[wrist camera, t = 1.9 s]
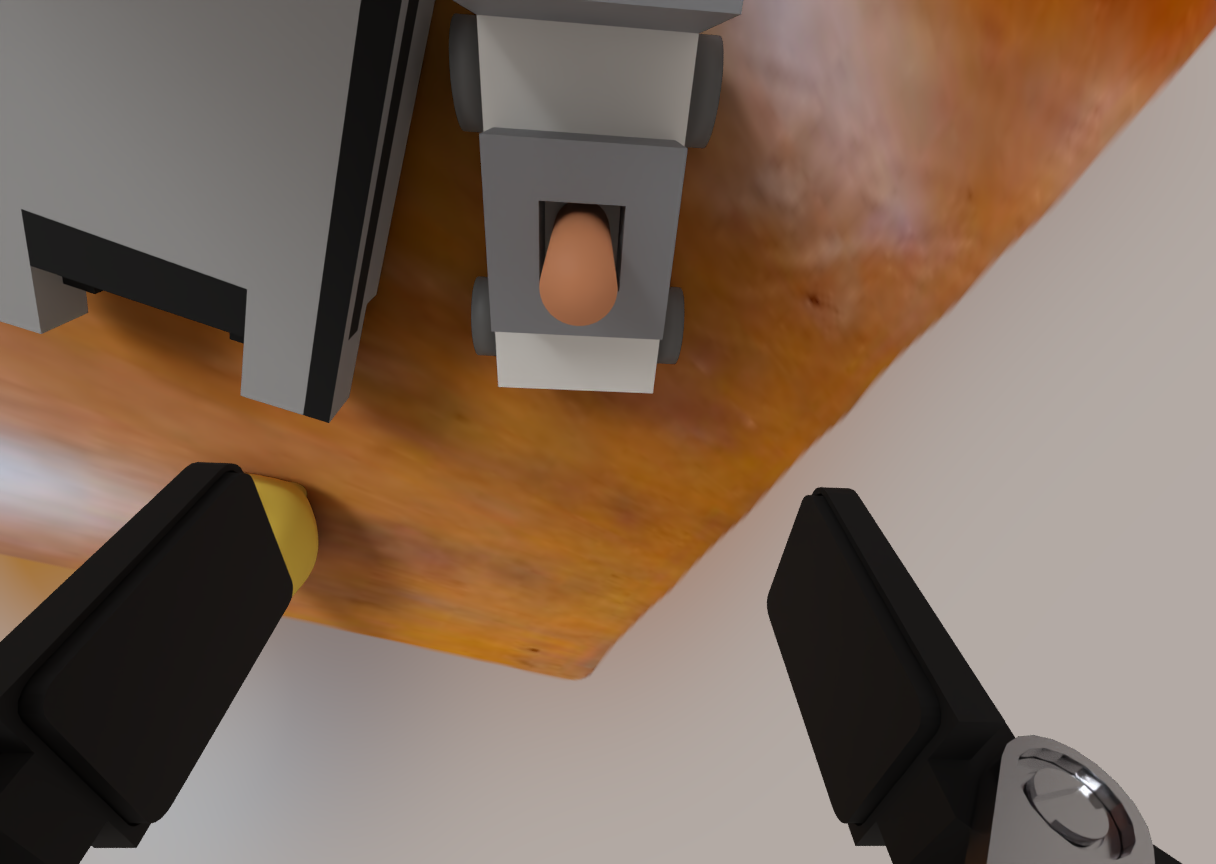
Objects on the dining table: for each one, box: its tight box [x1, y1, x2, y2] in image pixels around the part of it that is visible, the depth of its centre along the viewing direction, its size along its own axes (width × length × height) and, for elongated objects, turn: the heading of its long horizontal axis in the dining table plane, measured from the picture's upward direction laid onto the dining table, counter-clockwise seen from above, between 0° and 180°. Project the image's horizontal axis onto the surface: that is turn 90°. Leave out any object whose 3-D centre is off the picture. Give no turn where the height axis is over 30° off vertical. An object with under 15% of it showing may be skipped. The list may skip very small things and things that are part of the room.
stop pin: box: [539, 202, 618, 326], centre depth 24 cm, size 3×3×10 cm
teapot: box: [247, 473, 318, 596], centre depth 42 cm, size 18×11×11 cm, turn 167°
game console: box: [0, 0, 435, 423], centre depth 25 cm, size 21×32×8 cm, turn 156°
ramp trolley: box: [449, 0, 743, 393], centre depth 27 cm, size 20×13×14 cm, turn 176°
